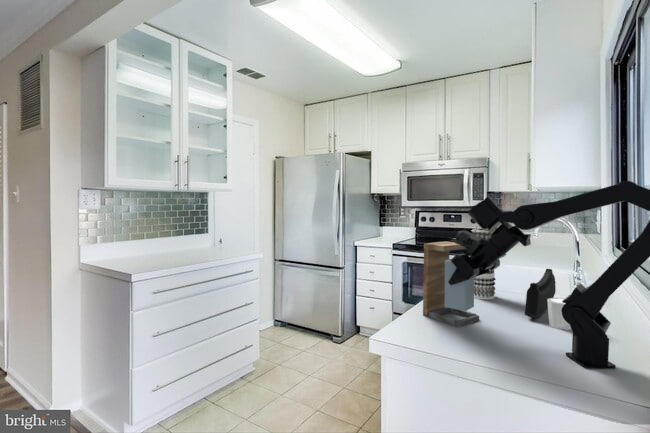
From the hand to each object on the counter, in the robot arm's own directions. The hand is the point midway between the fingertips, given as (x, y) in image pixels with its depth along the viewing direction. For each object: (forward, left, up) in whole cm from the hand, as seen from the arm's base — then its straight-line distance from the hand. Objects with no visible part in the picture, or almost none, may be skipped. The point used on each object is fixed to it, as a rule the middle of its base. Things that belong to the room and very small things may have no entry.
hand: (454, 281), depth 98 cm
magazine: (+17, -34, -13) cm, 40 cm away
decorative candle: (+31, -21, -13) cm, 40 cm away
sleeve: (-1, -1, -7) cm, 7 cm away
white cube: (+1, -30, -13) cm, 32 cm away
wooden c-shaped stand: (+7, -2, -12) cm, 14 cm away
